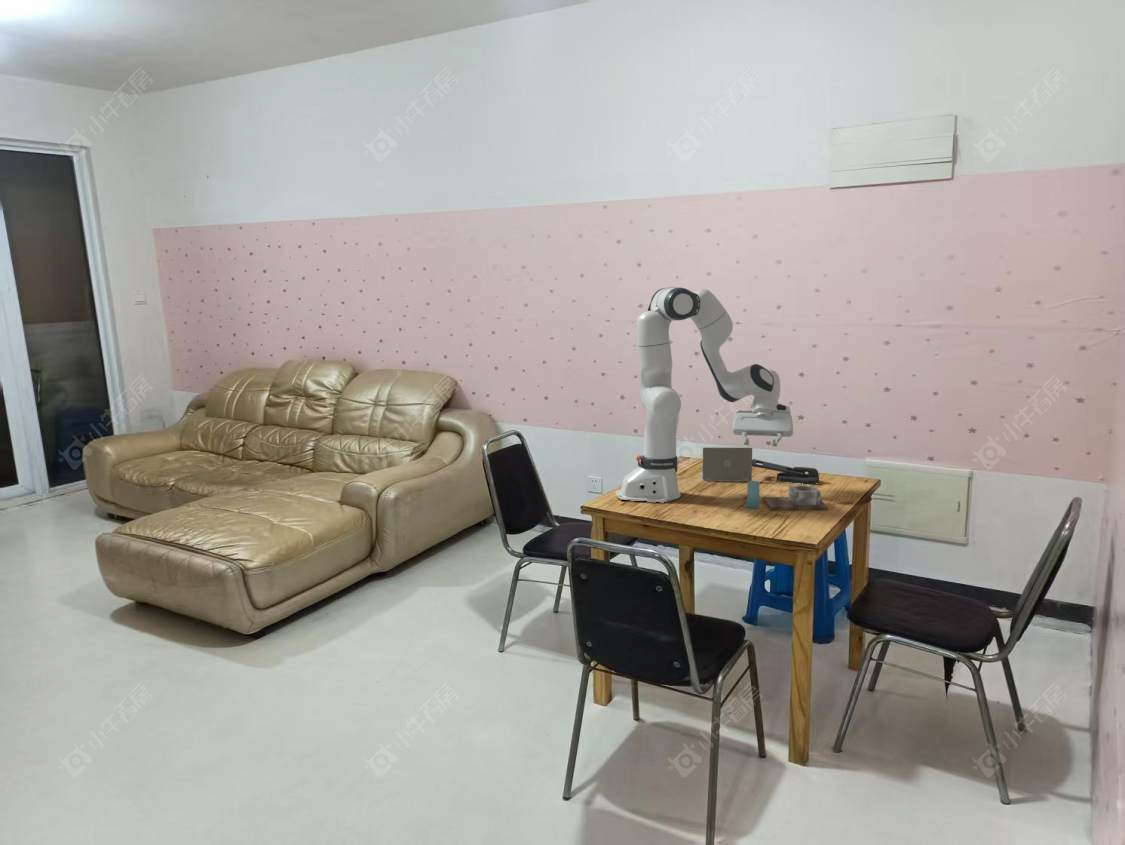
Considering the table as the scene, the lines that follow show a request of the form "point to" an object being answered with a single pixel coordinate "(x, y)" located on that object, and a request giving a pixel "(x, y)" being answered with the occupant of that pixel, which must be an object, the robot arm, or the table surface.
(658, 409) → the robot arm
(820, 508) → the walnut socket board
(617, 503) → the table surface
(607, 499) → the table surface
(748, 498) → the teal rounded oblong piece
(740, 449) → the laptop
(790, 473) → the black stapler
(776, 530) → the table surface
